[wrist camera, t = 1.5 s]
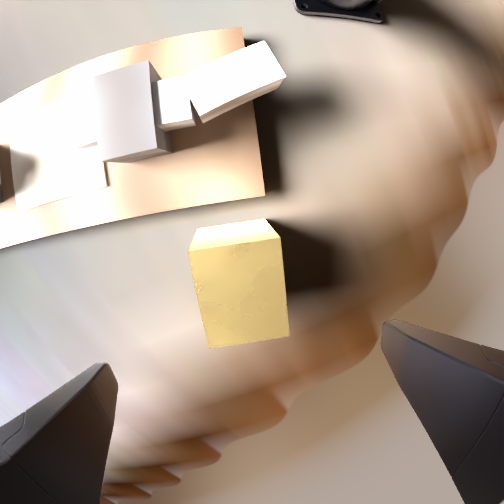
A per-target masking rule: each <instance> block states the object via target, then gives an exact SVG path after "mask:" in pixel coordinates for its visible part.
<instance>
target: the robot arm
mask: <svg viewBox="0 0 504 504" xmlns="http://www.w3.org/2000/svg"><path fill="white" fill-rule="evenodd" d="M380 1H381V0H293V3H294V7H295V10H296V11H297V12H298V13H300V14H310V15H324V16H335V17H343V18H351V19H358V20H365V21H370V22H376V23H380V22H381V21H383V20H384V15H383V12H382V9H381V6H380V3H379V2H380ZM300 6H304V7H305V8H306V9H303V8H301V7H300ZM375 15H377V16H378V17H376V16H375ZM381 348H382V351H383V353H384V355H385V357H386V359H387V361H388V363H389V365H390V368H391V370H392V372H393V374H394V376H395V378H396V380H397V382H398V384H399V386H400V388H401V389H402V391H403V393H404V394H405V396H406V398H407V399H408V401H409V403H410V404H411V406H412V408H413V409H414V411H415V413H416V414H417V416H418V417H419V419H420V421H421V423H422V425H423V426H424V428H425V430H426V432H427V433H428V435H429V437H430V439H431V440H432V442H433V444H434V446H435V448H436V449H437V451H438V453H439V455H440V457H441V458H442V460H443V462H444V464H445V466H446V468H447V470H448V471H449V473H450V475H451V476H452V479H453V481H454V483H455V485H456V487H457V489H458V491H459V493H460V495H461V497H462V499H463V501H464V503H465V504H501V503H502V502H503V501H504V351H502V350H498V349H494V348H491V347H487V346H484V345H481V346H480V345H479V344H476V343H473V342H469V341H466V340H462V339H459V338H455V337H452V336H448V335H445V334H442V333H439V332H435V331H432V330H429V329H425V328H422V327H418V326H415V325H412V324H408V323H405V322H402V321H399V320H390V321H387V322H385V323H384V324H383V328H382V337H381ZM117 393H118V383H117V380H116V378H115V376H114V374H113V372H112V369H111V367H110V365H109V364H108V363H95V364H94V365H92V366H91V367H89V368H88V369H87V370H85V371H84V372H82V373H81V374H79V375H78V376H76V377H75V378H73V379H72V380H70V381H69V382H67V383H66V384H64V385H63V386H61V387H60V388H59V389H57V390H56V391H54V392H53V393H51V394H50V395H48V396H47V397H45V398H44V399H42V400H41V401H39V402H38V403H36V404H35V405H33V406H32V407H30V408H29V409H28V410H26V412H23V413H21V414H20V415H19V416H17V417H16V418H14V419H12V420H11V421H9V422H8V423H6V424H4V425H3V426H1V427H0V504H100V497H101V490H102V483H103V477H104V471H105V466H106V460H107V455H108V450H109V445H110V440H111V435H112V431H113V426H114V418H115V409H116V401H117Z"/></svg>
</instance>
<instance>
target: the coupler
mask: <svg viewBox="0 0 504 504" xmlns="http://www.w3.org/2000/svg"><path fill="white" fill-rule="evenodd" d="M188 255H189V260H190V265H191V270H192V275H193V280H194V284H195V289H196V294H197V298H198V303H199V307H200V312H201V316H202V321H203V325H204V329H205V333H206V337H207V342H208V346H209V348H215V347H223V346H230V345H237V344H244V343H251V342H257V341H263V340H269V339H275V338H281V337H286V336H289V324H288V312H287V301H286V290H285V279H284V269H283V258H282V249H281V239H280V237H279V235H278V234H277V233H276V232H275V230H274V229H273V228H272V227H271V226H270V224H269V223H268V222H267V221H266V220H265V219H258V220H251V221H244V222H237V223H231V224H224V225H217V226H211V227H204V228H198V229H197V231H196V233H195V236H194V238H193V240H192V243H191V245H190V247H189V250H188Z"/></svg>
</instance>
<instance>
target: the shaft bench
mask: <svg viewBox="0 0 504 504" xmlns="http://www.w3.org/2000/svg"><path fill="white" fill-rule="evenodd" d="M285 78H286V75H285V74H284V72H283V70H282V69H281V67H280V65H279V63H278V62H277V60H276V59H275V57H274V55H273V54H272V52H271V50H270V49H269V47H268V46H267V44H266V43H265V41H261V42H259V43H256V44H253V45H250V46H248V47H245V45H244V38H243V32H242V28H230V29H221V30H212V31H205V32H198V33H192V34H186V35H180V36H175V37H170V38H165V39H161V40H156V41H152V42H148V43H144V44H140V45H136V46H133V47H129V48H126V49H122V50H119V51H116V52H113V53H110V54H107V55H104V56H101V57H98V58H95V59H92V60H90V61H87V62H84V63H82V64H79V65H77V66H74V67H72V68H69V69H67V70H65V71H62V72H60V73H58V74H56V75H53V76H51V77H49V78H47V79H45V80H43V81H41V82H39V83H37V84H35V85H33V86H31V87H29V88H27V89H25V90H23V91H21V92H20V93H18V94H16V95H14V96H13V97H11V98H9V99H7V100H6V101H4V102H2V103H1V104H0V248H4V247H8V246H11V245H15V244H19V243H22V242H26V241H30V240H34V239H38V238H42V237H46V236H50V235H54V234H58V233H62V232H67V231H71V230H75V229H80V228H84V227H89V226H93V225H98V224H102V223H107V222H112V221H117V220H122V219H127V218H132V217H137V216H142V215H147V214H153V213H158V212H164V211H169V210H175V209H181V208H187V207H193V206H199V205H205V204H212V203H218V202H225V201H231V200H238V199H246V198H253V197H260V196H265V190H264V182H263V174H262V166H261V158H260V151H259V143H258V135H257V128H256V121H255V113H254V106H253V99H254V98H257V97H259V96H261V95H264V94H266V93H268V92H271V91H273V90H275V89H278V88H279V86H280V85H281V83H282V82H283V80H284V79H285Z"/></svg>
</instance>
